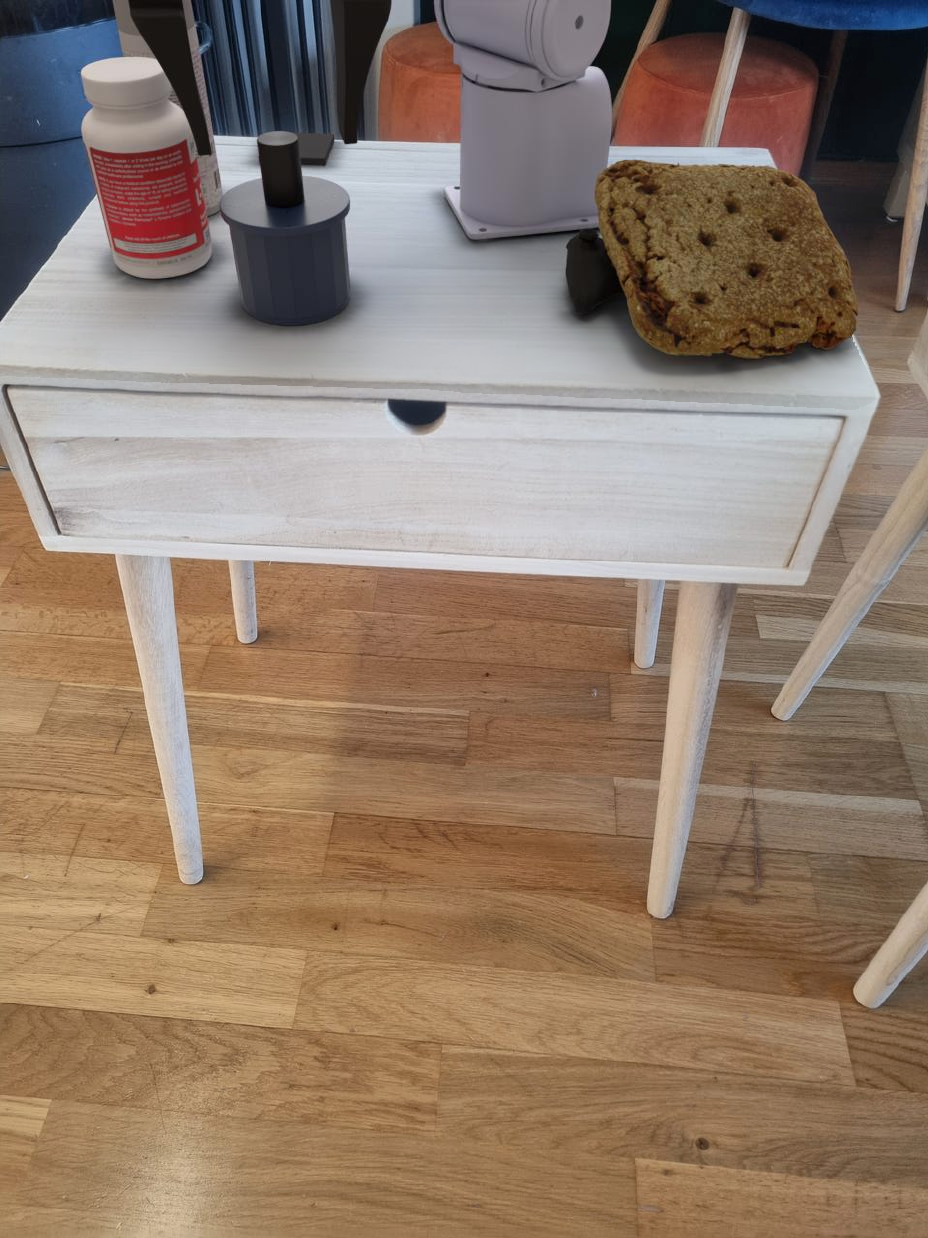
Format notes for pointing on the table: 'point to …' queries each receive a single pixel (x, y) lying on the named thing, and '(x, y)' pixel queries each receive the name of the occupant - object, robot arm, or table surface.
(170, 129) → the pill bottle
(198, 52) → the container
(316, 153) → the coaster
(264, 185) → the lid
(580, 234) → the gaming controller
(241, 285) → the tin
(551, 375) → the table surface
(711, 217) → the pastry
